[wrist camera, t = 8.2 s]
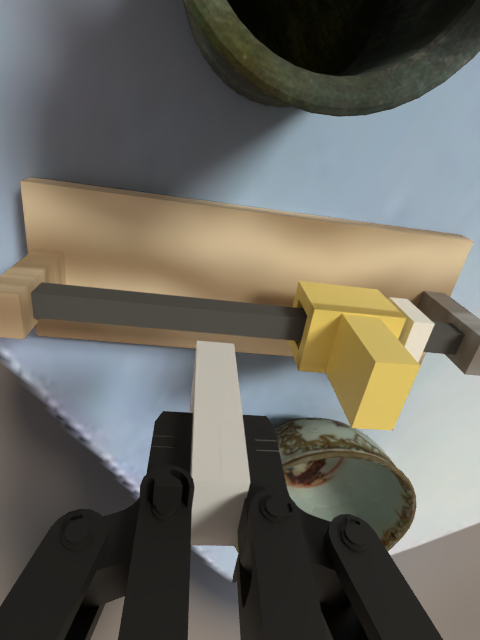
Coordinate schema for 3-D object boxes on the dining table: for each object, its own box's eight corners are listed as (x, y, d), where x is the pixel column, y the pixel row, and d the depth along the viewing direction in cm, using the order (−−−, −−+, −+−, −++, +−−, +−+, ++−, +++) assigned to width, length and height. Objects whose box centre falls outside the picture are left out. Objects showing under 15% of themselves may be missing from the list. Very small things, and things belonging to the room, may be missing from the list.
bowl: (328, 505, 39) (355, 590, 32) (203, 477, 36) (203, 566, 29) (403, 405, 34) (455, 482, 27) (264, 362, 30) (281, 436, 23)
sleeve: (298, 280, 23) (341, 357, 16) (377, 289, 24) (454, 366, 16) (285, 336, 25) (319, 427, 17) (360, 342, 25) (422, 433, 18)
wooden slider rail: (30, 177, 23) (-47, 204, 16) (460, 235, 27) (552, 277, 20) (44, 324, 27) (-11, 397, 20) (410, 356, 31) (470, 426, 24)
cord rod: (39, 281, 20) (28, 292, 19) (453, 323, 24) (466, 334, 23) (41, 305, 21) (31, 317, 20) (444, 342, 24) (457, 354, 23)
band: (389, 297, 24) (414, 321, 21) (407, 299, 24) (434, 323, 21) (373, 341, 25) (394, 370, 22) (390, 343, 25) (414, 372, 22)
